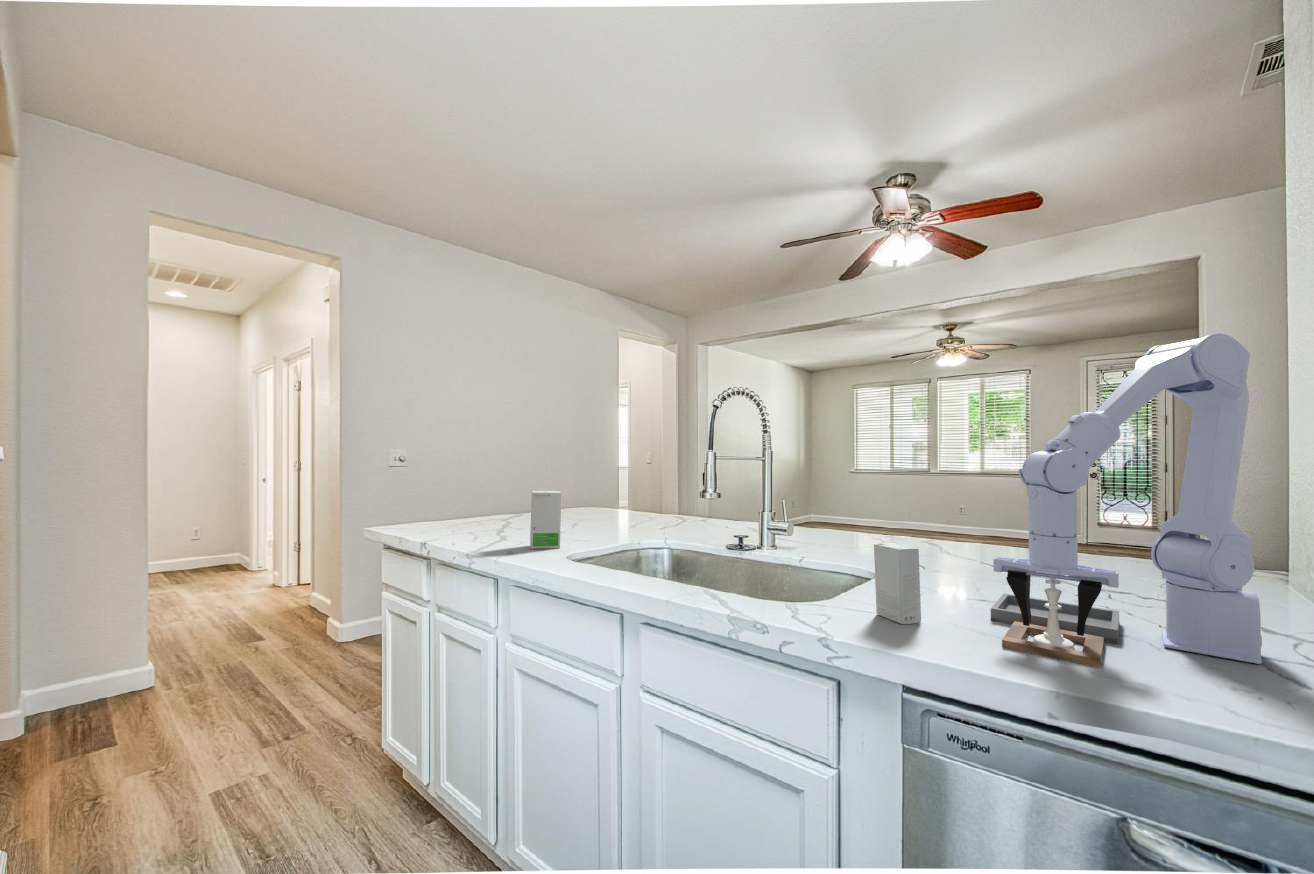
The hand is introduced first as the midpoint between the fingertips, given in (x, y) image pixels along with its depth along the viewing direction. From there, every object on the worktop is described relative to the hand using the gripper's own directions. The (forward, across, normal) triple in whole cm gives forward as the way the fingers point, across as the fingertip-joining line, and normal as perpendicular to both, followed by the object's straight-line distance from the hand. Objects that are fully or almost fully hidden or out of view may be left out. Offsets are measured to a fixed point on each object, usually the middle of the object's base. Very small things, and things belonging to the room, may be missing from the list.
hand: (1053, 628), depth 79 cm
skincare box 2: (+3, -21, -2) cm, 21 cm away
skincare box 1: (+3, -116, -1) cm, 116 cm away
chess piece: (+3, 0, 0) cm, 3 cm away
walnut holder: (+2, 0, 0) cm, 2 cm away
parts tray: (+2, -1, +13) cm, 13 cm away
